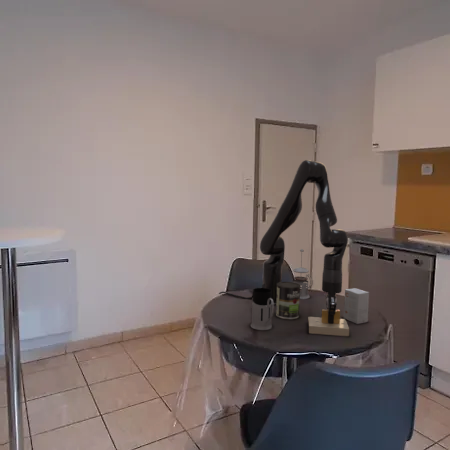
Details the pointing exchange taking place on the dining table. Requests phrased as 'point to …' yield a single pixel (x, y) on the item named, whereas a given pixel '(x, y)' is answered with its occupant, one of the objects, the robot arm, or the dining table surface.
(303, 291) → the french press
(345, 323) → the base
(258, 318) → the glass holder
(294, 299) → the coffee can
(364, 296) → the small box
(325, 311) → the tan rectangular block
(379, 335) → the dining table surface
